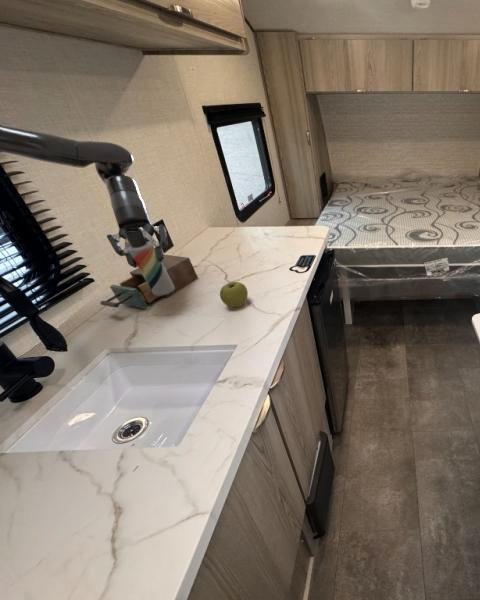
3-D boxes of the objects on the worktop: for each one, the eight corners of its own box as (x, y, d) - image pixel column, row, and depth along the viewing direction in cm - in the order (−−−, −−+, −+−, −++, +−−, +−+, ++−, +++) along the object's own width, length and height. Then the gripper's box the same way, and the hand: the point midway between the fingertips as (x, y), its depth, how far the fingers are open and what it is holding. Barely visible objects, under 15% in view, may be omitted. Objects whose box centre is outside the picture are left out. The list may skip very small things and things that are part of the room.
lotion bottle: (151, 291, 99) (116, 229, 88) (171, 284, 102) (140, 223, 91) (156, 298, 96) (120, 235, 84) (177, 290, 99) (145, 228, 88)
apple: (255, 301, 106) (249, 283, 102) (233, 314, 101) (225, 295, 97) (242, 295, 110) (235, 276, 106) (220, 306, 104) (212, 287, 100)
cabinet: (167, 298, 110) (155, 276, 105) (142, 293, 113) (129, 272, 109) (198, 278, 121) (188, 257, 116) (174, 274, 124) (164, 254, 119)
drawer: (127, 318, 99) (115, 300, 96) (103, 314, 102) (90, 296, 98) (176, 288, 114) (167, 271, 110) (154, 284, 117) (145, 268, 113)
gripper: (92, 209, 87) (110, 266, 86) (154, 199, 93) (172, 252, 91) (106, 222, 94) (123, 275, 92) (163, 212, 100) (180, 261, 98)
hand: (148, 263), depth 92 cm, fingers closed on lotion bottle, 5 cm apart
